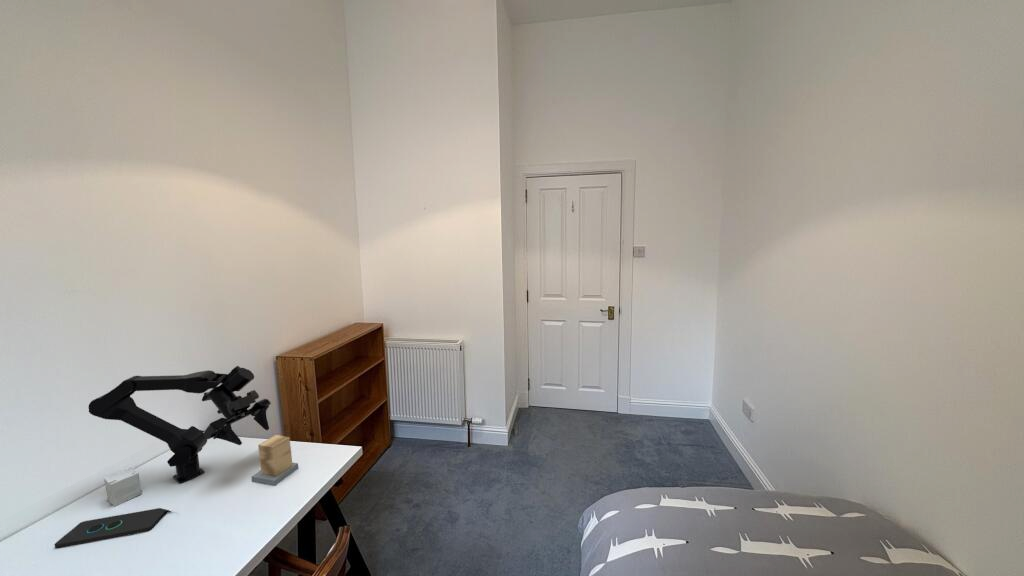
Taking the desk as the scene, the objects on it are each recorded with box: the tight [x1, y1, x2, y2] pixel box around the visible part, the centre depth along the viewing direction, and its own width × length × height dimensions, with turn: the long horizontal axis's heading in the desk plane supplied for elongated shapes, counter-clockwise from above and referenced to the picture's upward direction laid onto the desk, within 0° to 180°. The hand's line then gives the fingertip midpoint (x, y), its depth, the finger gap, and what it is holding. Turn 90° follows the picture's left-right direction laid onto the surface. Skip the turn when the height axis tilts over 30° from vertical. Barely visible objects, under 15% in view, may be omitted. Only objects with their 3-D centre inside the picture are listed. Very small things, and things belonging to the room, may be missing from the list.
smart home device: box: [54, 507, 170, 549], centre depth 95 cm, size 8×2×20 cm
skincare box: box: [103, 467, 143, 507], centre depth 107 cm, size 6×6×7 cm
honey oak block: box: [257, 434, 293, 477], centre depth 114 cm, size 6×6×10 cm
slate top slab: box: [251, 461, 299, 487], centre depth 115 cm, size 9×9×2 cm
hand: (255, 436), depth 115 cm, fingers open, 9 cm apart
